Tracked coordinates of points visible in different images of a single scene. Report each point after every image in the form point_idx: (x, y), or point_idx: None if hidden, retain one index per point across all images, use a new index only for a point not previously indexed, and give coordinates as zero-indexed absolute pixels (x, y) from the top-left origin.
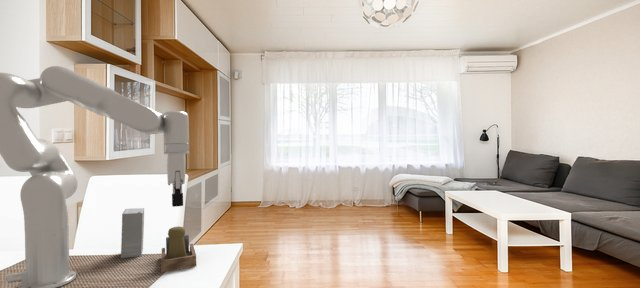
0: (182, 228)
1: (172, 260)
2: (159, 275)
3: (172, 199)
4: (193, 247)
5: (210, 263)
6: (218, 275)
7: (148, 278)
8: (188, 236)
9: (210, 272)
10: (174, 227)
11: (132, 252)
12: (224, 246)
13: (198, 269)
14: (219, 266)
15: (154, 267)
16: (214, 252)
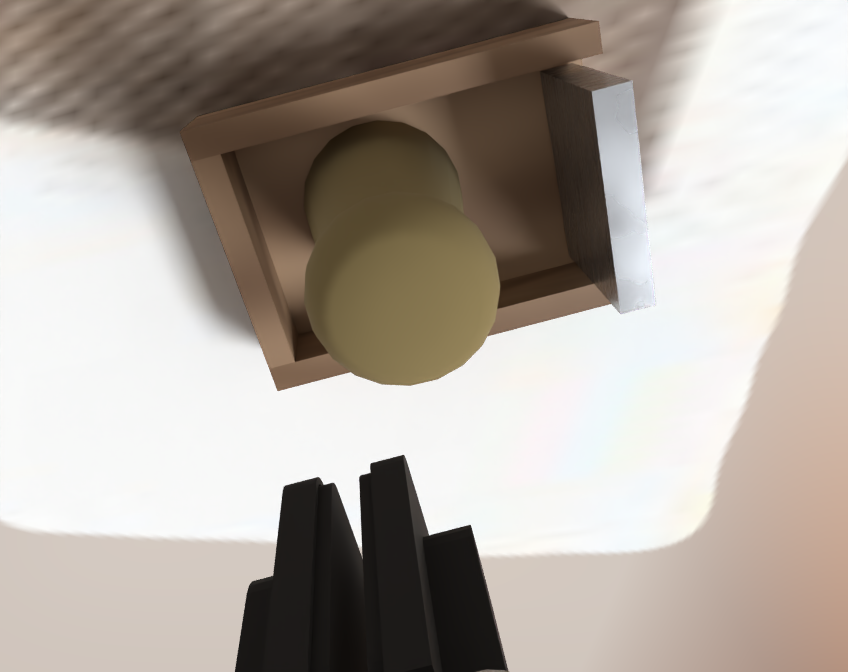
0: (383, 378)
1: (215, 219)
2: (127, 119)
3: (275, 594)
4: (512, 326)
5: (318, 434)
6: (86, 512)
7: (69, 42)
8: (615, 306)
9: (144, 460)
10: (405, 292)
11: None
12: (670, 469)
13: (212, 378)
14: (247, 495)
15: (323, 19)
16: (554, 423)
